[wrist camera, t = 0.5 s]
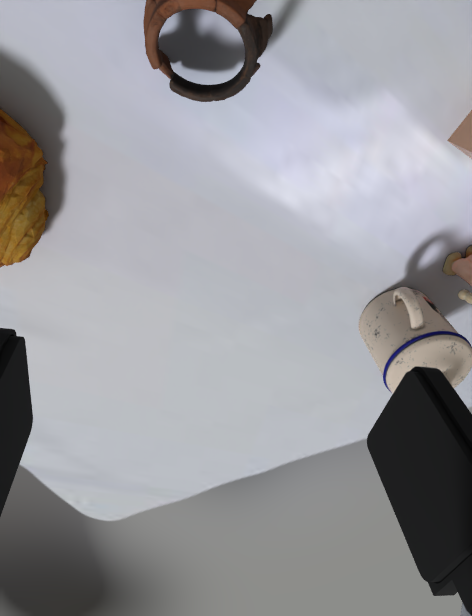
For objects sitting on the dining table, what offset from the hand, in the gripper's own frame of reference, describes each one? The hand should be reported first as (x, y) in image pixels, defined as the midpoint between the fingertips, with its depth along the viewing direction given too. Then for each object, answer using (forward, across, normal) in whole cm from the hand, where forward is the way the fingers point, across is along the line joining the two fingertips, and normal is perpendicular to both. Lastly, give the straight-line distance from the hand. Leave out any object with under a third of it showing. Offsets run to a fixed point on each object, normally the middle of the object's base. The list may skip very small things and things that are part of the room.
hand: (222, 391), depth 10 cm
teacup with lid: (+30, -25, +16) cm, 43 cm away
